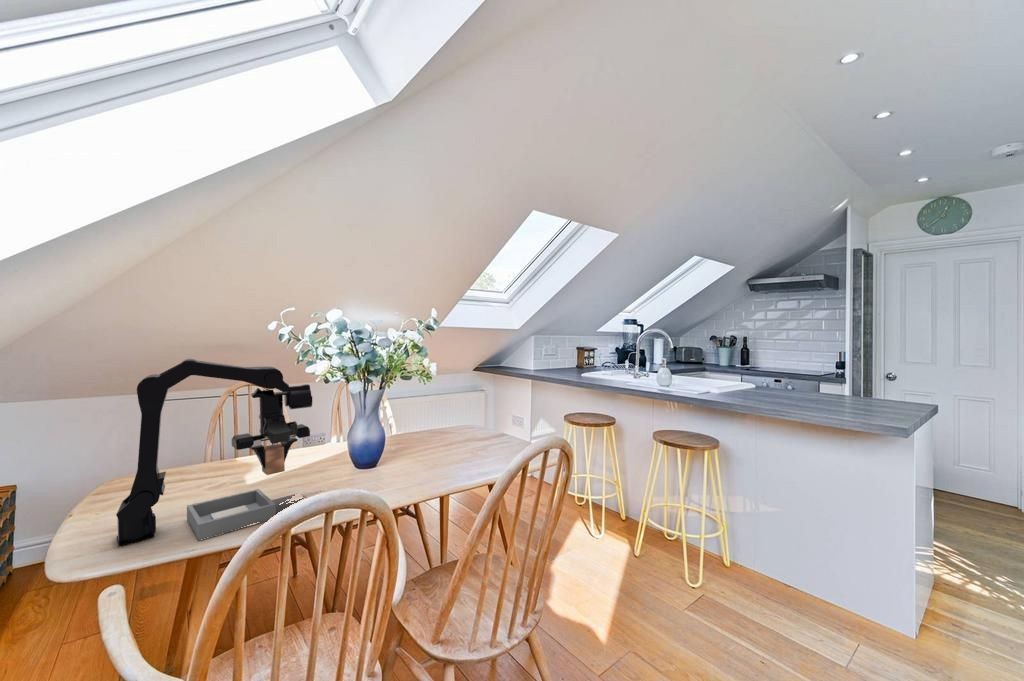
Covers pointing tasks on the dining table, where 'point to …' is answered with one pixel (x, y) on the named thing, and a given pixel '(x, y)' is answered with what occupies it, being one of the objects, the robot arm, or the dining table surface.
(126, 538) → the robot arm
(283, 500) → the mat
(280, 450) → the block
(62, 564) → the dining table surface
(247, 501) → the crate
